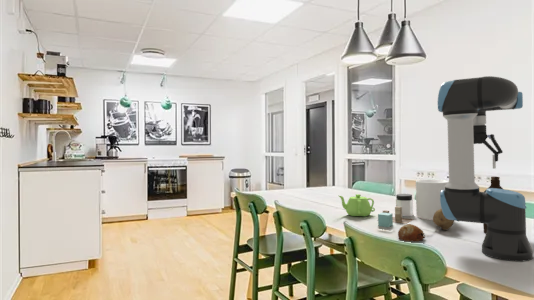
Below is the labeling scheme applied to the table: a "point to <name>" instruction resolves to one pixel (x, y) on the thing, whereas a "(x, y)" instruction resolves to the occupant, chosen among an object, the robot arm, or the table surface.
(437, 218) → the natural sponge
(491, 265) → the table surface
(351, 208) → the teapot
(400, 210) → the post
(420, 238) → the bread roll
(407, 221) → the board
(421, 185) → the canister
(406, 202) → the jar
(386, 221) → the teal block
